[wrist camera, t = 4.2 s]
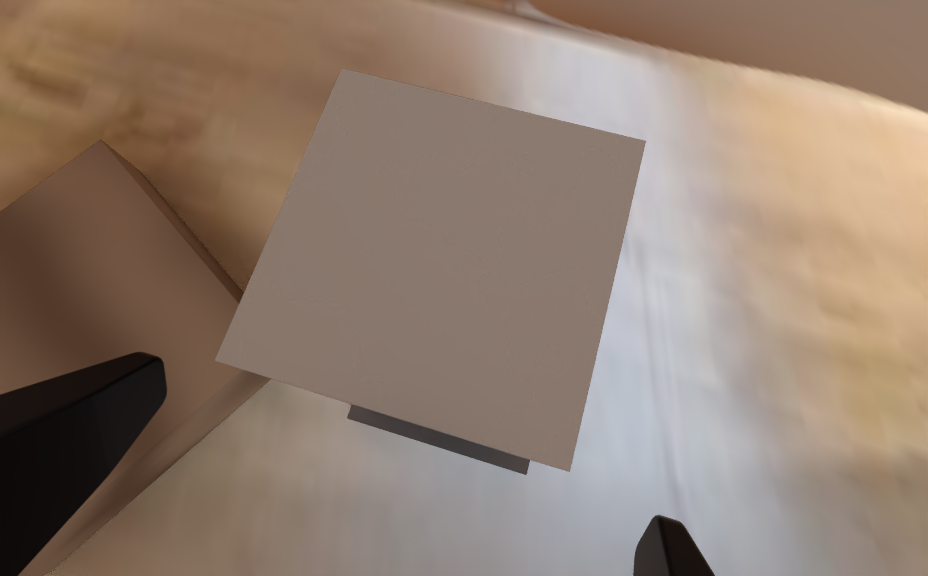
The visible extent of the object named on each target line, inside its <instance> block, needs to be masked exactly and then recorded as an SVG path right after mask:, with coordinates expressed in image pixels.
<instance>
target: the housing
mask: <svg viewBox="0 0 928 576" xmlns="http://www.w3.org/2000/svg"><path fill="white" fill-rule="evenodd" d="M645 143H646V141H644V140H640V139H635V138H631V137H627V136H623V135H619V134H615V133H610V132H606V131H602V130H598V129H594V128H589V127H585V126H581V125H577V124H573V123H569V122H564V121H560V120H556V119H552V118H548V117H544V116H539V115H535V114H531V113H527V112H523V111H519V110H514V109H510V108H506V107H502V106H498V105H494V104H489V103H485V102H481V101H477V100H473V99H468V98H464V97H460V96H456V95H452V94H448V93H443V92H439V91H435V90H431V89H427V88H423V87H418V86H414V85H410V84H406V83H402V82H398V81H393V80H389V79H385V78H381V77H377V76H372V75H368V74H364V73H360V72H356V71H352V70H347V69H343V68H342V69H341V71H340V73H339V76H338V78H337V80H336V83H335V85H334V87H333V90H332V92H331V94H330V96H329V99H328V101H327V103H326V106H325V108H324V110H323V113H322V115H321V117H320V119H319V122H318V124H317V126H316V129H315V131H314V133H313V136H312V138H311V140H310V142H309V145H308V147H307V149H306V152H305V154H304V156H303V159H302V161H301V163H300V165H299V168H298V170H297V172H296V175H295V177H294V179H293V182H292V184H291V186H290V188H289V191H288V193H287V195H286V198H285V200H284V202H283V205H282V207H281V209H280V211H279V214H278V216H277V218H276V221H275V223H274V225H273V228H272V230H271V232H270V234H269V237H268V239H267V241H266V244H265V246H264V248H263V251H262V253H261V255H260V257H259V260H258V262H257V264H256V267H255V269H254V271H253V274H252V276H251V278H250V280H249V283H248V285H247V287H246V290H245V292H244V294H243V297H242V299H241V301H240V303H239V306H238V308H237V310H236V313H235V315H234V317H233V320H232V322H231V324H230V326H229V329H228V331H227V333H226V336H225V338H224V340H223V343H222V345H221V347H220V350H219V352H218V354H217V356H216V359H215V361H217V362H221V363H224V364H227V365H230V366H233V367H236V368H239V369H243V370H246V371H249V372H252V373H255V374H258V375H261V376H265V377H268V378H271V379H274V380H277V381H280V382H283V383H287V384H290V385H293V386H296V387H299V388H302V389H305V390H309V391H312V392H315V393H318V394H321V395H324V396H328V397H331V398H334V399H337V400H340V401H343V402H346V403H350V404H352V406H351V409H350V412H349V415H348V417H347V418H348V419H351V420H354V421H357V422H360V423H364V424H367V425H370V426H373V427H376V428H379V429H383V430H386V431H389V432H392V433H395V434H398V435H402V436H405V437H408V438H411V439H414V440H417V441H421V442H424V443H427V444H430V445H433V446H436V447H439V448H443V449H446V450H449V451H452V452H455V453H458V454H462V455H465V456H468V457H471V458H474V459H477V460H481V461H484V462H487V463H490V464H493V465H496V466H500V467H503V468H506V469H509V470H512V471H515V472H518V473H522V474H525V475H526V474H527V470H528V466H529V462H530V460H532V461H535V462H539V463H542V464H546V465H549V466H552V467H556V468H559V469H562V470H566V471H569V472H570V468H571V464H572V459H573V455H574V451H575V446H576V442H577V438H578V433H579V429H580V425H581V420H582V416H583V412H584V407H585V403H586V399H587V394H588V390H589V386H590V381H591V377H592V372H593V368H594V364H595V359H596V355H597V351H598V346H599V342H600V338H601V333H602V329H603V325H604V320H605V316H606V312H607V307H608V303H609V299H610V294H611V290H612V286H613V281H614V277H615V273H616V268H617V264H618V260H619V255H620V251H621V247H622V242H623V238H624V234H625V229H626V225H627V221H628V216H629V212H630V208H631V203H632V199H633V195H634V190H635V186H636V182H637V177H638V173H639V169H640V164H641V160H642V156H643V151H644V147H645Z"/></svg>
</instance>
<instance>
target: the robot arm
mask: <svg viewBox="0 0 928 576" xmlns="http://www.w3.org/2000/svg"><path fill="white" fill-rule="evenodd" d="M166 396H167V383H166V375H165V367H164V362H163V360H162V359H161V358H160V357H158V356H155V355H152V354H149V353H146V352H140V351H139V352H134V353H131V354H127V355H124V356H121V357H118V358H115V359H111V360H108V361H105V362H102V363H99V364H96V365H92V366H89V367H86V368H83V369H80V370H76V371H73V372H70V373H67V374H64V375H60V376H57V377H54V378H51V379H48V380H44V381H41V382H38V383H35V384H32V385H28V386H25V387H22V388H19V389H16V390H12V391H9V392H6V393H3V394H0V576H19V574H20V573H21V572H22V571H23V570H24V569H25V568H26V567H27V566H28V564H29V563H30V562H31V561H32V560H33V559H34V558H35V557H36V556H37V555H38V553H39V552H40V551H41V550H42V549H43V548H44V547H45V546H46V545H47V544H48V542H49V541H50V540H51V539H52V538H53V537H54V536H55V535H56V534H57V532H58V531H59V530H60V529H61V528H62V527H63V526H64V525H65V524H66V523H67V521H68V520H69V519H70V518H71V517H72V516H73V515H74V514H75V513H76V512H77V510H78V509H79V508H80V507H81V506H82V505H83V504H84V503H85V502H86V501H87V499H88V498H89V497H90V496H91V495H92V494H93V493H94V492H95V491H96V489H97V488H98V487H99V486H100V485H101V484H102V483H103V482H104V480H105V479H106V478H107V477H108V476H109V475H110V473H111V472H112V471H113V470H114V468H115V467H116V466H117V465H118V463H119V462H120V461H121V459H122V458H123V457H124V455H125V454H126V453H127V451H128V450H129V449H130V447H131V446H132V445H133V443H134V442H135V441H136V439H137V438H138V437H139V435H140V434H141V433H142V431H143V430H144V429H145V427H146V426H147V425H148V423H149V422H150V421H151V419H152V418H153V417H154V415H155V414H156V413H157V411H158V410H159V409H160V407H161V406H162V404H163V403H164V401H165V399H166ZM633 576H715V575H714V573H713V572H712V570H711V568H710V567H709V565H708V563H707V562H706V560H705V559H704V557H703V555H702V554H701V552H700V550H699V549H698V547H697V546H696V544H695V542H694V541H693V539H692V537H691V536H690V534H689V533H688V531H687V529H686V528H685V526H684V525H683V524H682V523H681V522H679V521H677V520H674V519H671V518H668V517H664V516H661V515H656V516H655V517H653V519H652V520H651V522H650V523H649V525H648V527H647V529H646V530H645V532H644V534H643V536H642V537H641V539H640V541H639V543H638V545H637V548H636V552H635V558H634V574H633Z"/></svg>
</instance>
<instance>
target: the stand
mask: <svg viewBox="0 0 928 576" xmlns="http://www.w3.org/2000/svg"><path fill="white" fill-rule="evenodd" d="M243 294H244V293H243V292H242V290H241V289H240V288H239V287H238V286H237V284H236V283H235V282H234V281H233V280H232V279H231V277H230V276H229V275H228V274H227V273H226V272H225V270H224V269H223V268H222V267H221V266H220V264H219V263H218V262H217V261H216V260H215V259H214V257H213V256H212V255H211V254H210V253H209V251H208V250H207V249H206V248H205V247H204V246H203V244H202V243H201V242H200V241H199V240H198V239H197V237H196V236H195V235H194V234H193V233H192V231H191V230H190V229H189V228H188V227H187V226H186V224H185V223H184V222H183V221H182V220H181V218H180V217H179V216H178V215H177V214H176V213H175V211H174V210H173V209H172V208H171V207H170V206H169V204H168V203H167V202H166V201H165V200H164V198H163V197H162V196H161V195H160V194H159V193H158V191H157V190H156V189H155V188H154V187H153V186H152V184H151V183H150V182H149V181H148V180H147V178H146V177H145V176H144V175H143V174H142V173H141V172H140V171H139V170H138V169H137V168H135V167H134V166H133V165H132V164H131V163H129V162H128V161H127V160H126V159H124V158H123V157H122V156H121V155H119V154H118V153H117V152H116V151H114V150H113V149H112V148H111V147H109V146H108V145H107V144H106V143H105V142H103V141H102V140H99V141H98V142H97V143H95V144H94V145H93V146H91V147H90V148H88V149H87V150H86V151H84V152H83V153H81V154H80V155H79V156H77V157H76V158H74V159H73V160H72V161H70V162H69V163H67V164H66V165H65V166H63V167H62V168H60V169H59V170H58V171H56V172H55V173H53V174H52V175H51V176H49V177H48V178H47V179H45V180H44V181H42V182H41V183H40V184H38V185H37V186H35V187H34V188H33V189H31V190H30V191H28V192H27V193H26V194H24V195H23V196H21V197H20V198H19V199H17V200H16V201H14V202H13V203H12V204H10V205H9V206H8V207H6V208H5V209H3V210H2V211H1V212H0V394H3V393H6V392H9V391H12V390H16V389H19V388H22V387H25V386H28V385H32V384H35V383H38V382H41V381H44V380H48V379H51V378H54V377H57V376H60V375H64V374H67V373H70V372H73V371H76V370H80V369H83V368H86V367H89V366H92V365H96V364H99V363H102V362H105V361H108V360H111V359H115V358H118V357H121V356H124V355H127V354H131V353H134V352H139V351H140V352H146V353H149V354H152V355H155V356H158V357H160V358H161V359H162V360H163V362H164V367H165V375H166V383H167V396H166V399H165V401H164V403H163V404H162V406H161V407H160V409H159V410H158V411H157V413H156V414H155V415H154V417H153V418H152V419H151V421H150V422H149V423H148V425H147V426H146V427H145V429H144V430H143V431H142V433H141V434H140V435H139V437H138V438H137V439H136V441H135V442H134V443H133V445H132V446H131V447H130V449H129V450H128V451H127V453H126V454H125V455H124V457H123V458H122V459H121V461H120V462H119V463H118V465H117V466H116V467H115V468H114V470H113V471H112V472H111V473H110V475H109V476H108V477H107V478H106V479H105V480H104V482H103V483H102V484H101V485H100V486H99V487H98V488H97V489H96V491H95V492H94V493H93V494H92V495H91V496H90V497H89V498H88V499H87V501H86V502H85V503H84V504H83V505H82V506H81V507H80V508H79V509H78V510H77V512H76V513H75V514H74V515H73V516H72V517H71V518H70V519H69V520H68V521H67V523H66V524H65V525H64V526H63V527H62V528H61V529H60V530H59V531H58V532H57V534H56V535H55V536H54V537H53V538H52V539H51V540H50V541H49V542H48V544H47V545H46V546H45V547H44V548H43V549H42V550H41V551H40V552H39V553H38V555H37V556H36V557H35V558H34V559H33V560H32V561H31V562H30V563H29V564H28V566H27V567H26V568H25V569H24V570H23V571H22V572H21V573H20V574H19V576H42V575H45V574H48V573H49V572H50V571H52V570H53V569H54V568H55V567H56V566H57V565H58V564H60V563H61V562H62V561H63V560H64V559H65V558H66V557H68V556H69V555H70V554H71V553H72V552H73V551H74V550H76V549H77V548H78V547H79V546H80V545H81V544H82V543H84V542H85V541H86V540H87V539H88V538H89V537H90V536H92V535H93V534H94V533H95V532H96V531H97V530H98V529H100V528H101V527H102V526H103V525H104V524H105V523H107V522H108V521H109V520H110V519H111V518H112V517H113V516H115V515H116V514H117V513H118V512H119V511H120V510H121V509H123V508H124V507H125V506H126V505H127V504H128V503H129V502H131V501H132V500H133V499H134V498H135V497H136V496H137V495H139V494H140V493H141V492H142V491H143V490H144V489H145V488H147V487H148V486H149V485H150V484H151V483H152V482H153V481H155V480H156V479H157V478H158V477H159V476H160V475H161V474H163V473H164V472H165V471H166V470H167V469H168V468H169V467H171V466H172V465H173V464H174V463H175V462H176V461H178V460H179V459H180V458H181V457H182V456H183V455H184V454H186V453H187V452H188V451H189V450H190V449H191V448H192V447H194V446H195V445H196V444H197V443H198V442H199V441H200V440H202V439H203V438H204V437H205V436H206V435H207V434H208V433H210V432H211V431H212V430H213V429H214V428H215V427H216V426H218V425H219V424H220V423H221V422H222V421H223V420H224V419H226V418H227V417H228V416H229V415H230V414H231V413H232V412H234V411H235V410H236V409H237V408H238V407H239V406H241V405H242V404H243V403H244V402H245V401H246V400H247V399H249V398H250V397H251V396H252V395H253V394H254V393H255V392H257V391H258V390H259V389H260V388H261V387H262V386H263V385H265V384H266V383H267V382H268V381H269V380H270V379H271V378H268V377H265V376H261V375H258V374H255V373H252V372H249V371H246V370H243V369H239V368H236V367H233V366H230V365H227V364H224V363H221V362H217V361H215V359H216V356H217V354H218V352H219V350H220V347H221V345H222V343H223V340H224V338H225V336H226V333H227V331H228V329H229V326H230V324H231V322H232V320H233V317H234V315H235V313H236V310H237V308H238V306H239V303H240V301H241V299H242V297H243Z"/></svg>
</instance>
